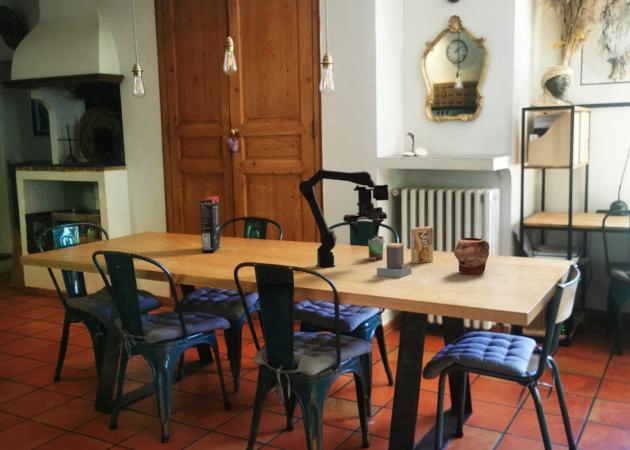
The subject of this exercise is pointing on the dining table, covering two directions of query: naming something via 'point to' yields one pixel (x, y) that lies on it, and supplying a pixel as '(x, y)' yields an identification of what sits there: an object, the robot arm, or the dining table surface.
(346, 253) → the dining table surface
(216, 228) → the graphics card box
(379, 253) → the food container
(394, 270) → the header shroud
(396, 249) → the plug block
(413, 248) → the candy box
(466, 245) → the decorative planter
